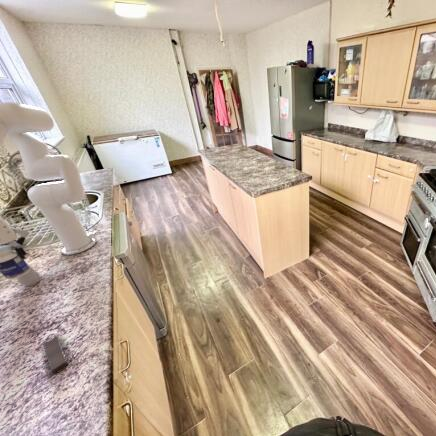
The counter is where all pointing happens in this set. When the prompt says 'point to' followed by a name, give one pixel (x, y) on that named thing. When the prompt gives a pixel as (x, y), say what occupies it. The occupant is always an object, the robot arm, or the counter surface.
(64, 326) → the counter surface
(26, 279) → the salt shaker
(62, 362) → the dark grey flat bar
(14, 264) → the pill bottle
